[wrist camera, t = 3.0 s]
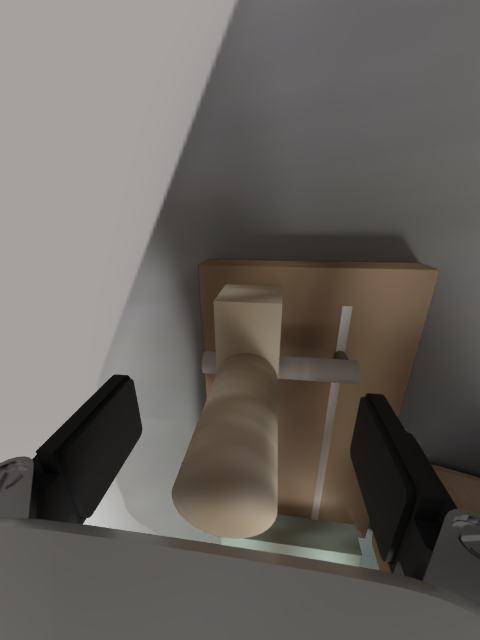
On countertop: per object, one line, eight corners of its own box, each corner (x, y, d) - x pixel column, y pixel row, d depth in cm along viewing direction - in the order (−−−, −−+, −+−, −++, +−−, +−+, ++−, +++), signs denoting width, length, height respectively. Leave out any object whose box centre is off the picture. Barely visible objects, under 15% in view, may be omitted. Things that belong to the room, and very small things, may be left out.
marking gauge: (360, 288, 13) (491, 407, 5) (339, 412, 16) (400, 613, 8) (207, 283, 14) (114, 377, 6) (214, 401, 17) (156, 571, 9)
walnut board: (419, 262, 15) (467, 279, 11) (357, 511, 22) (373, 570, 19) (207, 259, 16) (186, 272, 12) (219, 494, 24) (208, 545, 20)
